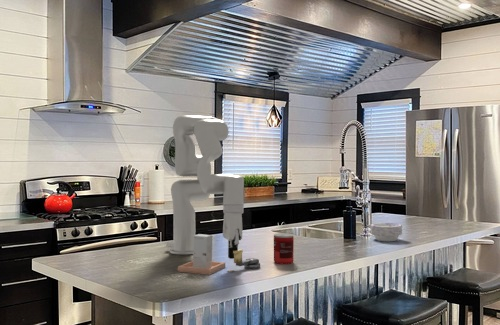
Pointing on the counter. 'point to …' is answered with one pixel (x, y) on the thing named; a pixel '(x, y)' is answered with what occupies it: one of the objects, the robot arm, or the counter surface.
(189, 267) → the tray
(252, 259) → the crank
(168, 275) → the counter surface
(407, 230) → the counter surface
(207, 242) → the skincare box
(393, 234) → the paper bowls
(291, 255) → the canned food
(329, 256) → the counter surface
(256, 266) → the crank hub
